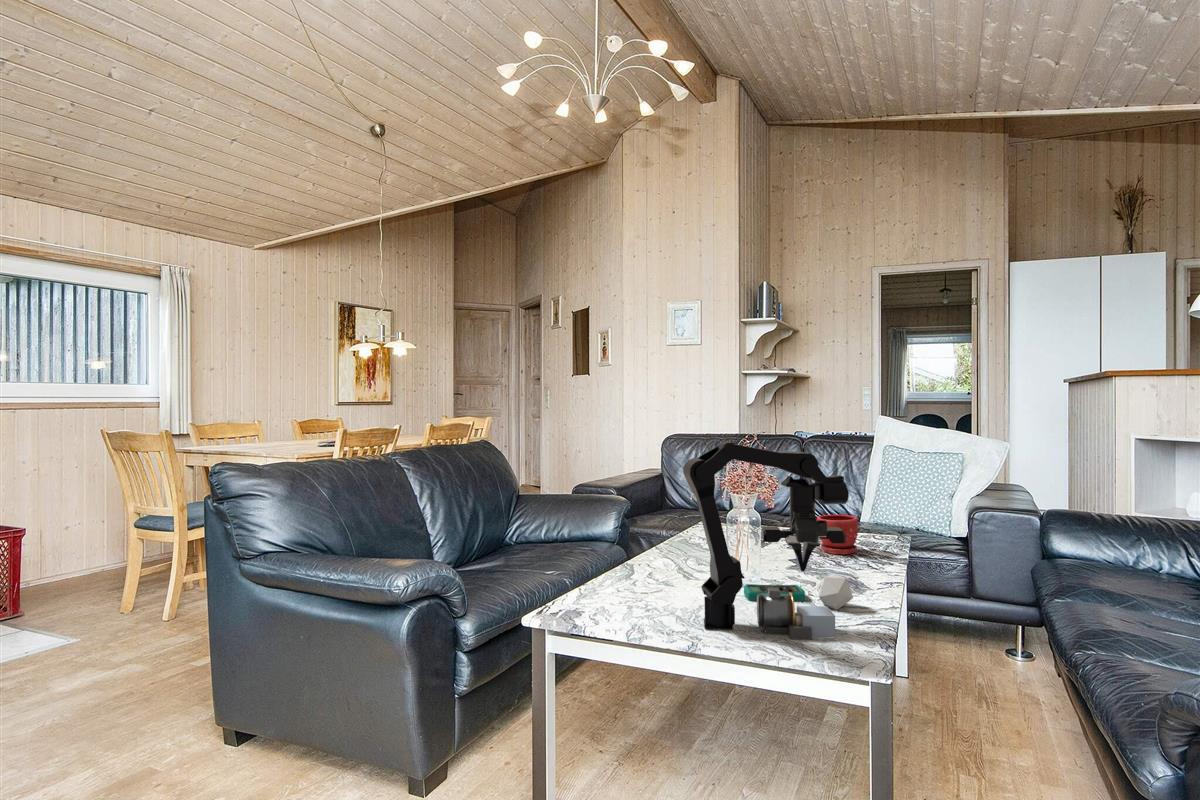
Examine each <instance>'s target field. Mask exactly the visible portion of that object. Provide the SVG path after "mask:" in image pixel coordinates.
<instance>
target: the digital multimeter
mask: <svg viewBox="0 0 1200 800" xmlns="http://www.w3.org/2000/svg"><path fill="white" fill-rule="evenodd" d="M768 587H775V588H779V590H780V594H789V593H792V595H793V599H794V602H805V601H806V591H805V590H804V589H803V588H802V587H801V586H800V585H798V584H749V583H748V584H745V585H744V586H743V594H744V597H745V598H746V599H747V600H748V601H750V602H757V595H758V594H768Z"/></svg>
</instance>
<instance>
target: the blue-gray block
mask: <svg viewBox="0 0 1200 800" xmlns="http://www.w3.org/2000/svg"><path fill="white" fill-rule="evenodd" d="M796 613H797V615H795V626H806V627H811V628H812V638H822V637H835V638H836V615H835V614H834V613H833V611H832V610H831V609H830V607H829V606H826V605H822V606H821V605H820V606H819V605H796Z"/></svg>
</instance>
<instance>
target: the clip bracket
mask: <svg viewBox="0 0 1200 800" xmlns="http://www.w3.org/2000/svg"><path fill="white" fill-rule="evenodd" d="M795 615H797V612H795ZM788 628H789V635H788V637H789V639H790V640H803V641H804V640H805V641H809V640H810V641H812V640H813V637H812V628H811V627H806V626H795V625H789V627H788Z"/></svg>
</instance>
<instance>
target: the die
mask: <svg viewBox="0 0 1200 800" xmlns="http://www.w3.org/2000/svg"><path fill="white" fill-rule="evenodd" d="M816 588H817V593H818V594H817V595H818V597H819V599H820V601H821V603H822V605H823V606H827V607H828V608H831V609H833V610H836V611H837V610H838V609H840V608H843V606H846V604H847V603H849V602H850V601H852V600H853V599H854V596H853V593H852V589H851V585H850V583H849V581H848V579H847V577H845V576H841V575H838V574H835V573H831V574H828V575H827V576H824V578H822V579H821V580H820V581H819V582H818V583H816Z"/></svg>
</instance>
